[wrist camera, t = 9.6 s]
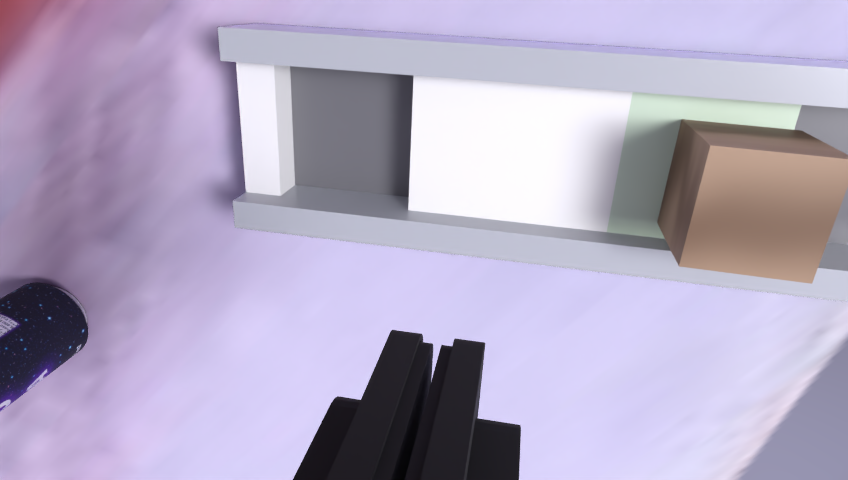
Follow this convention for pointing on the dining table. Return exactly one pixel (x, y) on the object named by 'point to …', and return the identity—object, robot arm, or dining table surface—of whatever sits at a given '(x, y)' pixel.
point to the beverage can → (37, 336)
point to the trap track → (505, 143)
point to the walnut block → (751, 199)
